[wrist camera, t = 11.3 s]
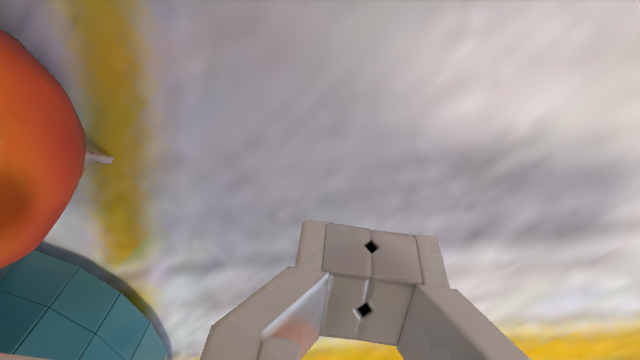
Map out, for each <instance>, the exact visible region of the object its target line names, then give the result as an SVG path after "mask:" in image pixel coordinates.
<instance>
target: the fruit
mask: <svg viewBox="0 0 640 360" xmlns="http://www.w3.org/2000/svg"><path fill="white" fill-rule="evenodd" d="M112 160H114V158H113V157H108V156H104V155H98V154H96V153H92V152H89V151H88V150H87V149H86V134H85V132H84V130H83V127H82V125H81V122H80V120H79V118H78V115H77V113H76V111H75V109H74V107H73V105H72V103H71V101H70V99H69V97H68V95H67V94H66V92H65V91H64V89H63V88H62V87H61V85H60V84H59V82H58V81H57V80H56V79H55V78H54V77H53V76H52V75H51V74H50V73H49V72H48V71H47V70H46V69H45V68H44V67H43V66H42V65H41V64H40V63H39V62H38V61H37V60H36V59H35V58H34V57H33V56H32V55H31V54H30V53H29V52H28V50H27V49H26V48H25V47H24V46H23V45H22V44H21V43H20V42H19V41H18V40H17V39H15V38H14V37H13V36H11V35H10V34H8V33H6V32H5V31H3V30H1V29H0V269H1V268H3V267H5V266H7V265H9V264H11V263H13V262H15V261H17V260H19V259H21V258H22V257H24V256H26V255H27V254H29V253H30V252H31V251H33V250H34V249H35V248H36V247H37V246H38V245H39V244H40V243H41V242H42V241H43V239H44V238H45V237H46V235H47V234H48V232H49V231H50V230H51V228H52V227H53V226H54V224H55V223H56V222H57V220H58V219H59V217H60V216H61V214H62V213H63V211H64V210H65V208H66V206H67V205H68V203H69V201H70V200H71V197H72V195H73V193H74V191H75V189H76V187H77V185H78V182H79V180H80V178H81V177H82V174H83V171H84V170H85V169H86V167H87V166H88V165H90V164H92V163H94V162H96V163H109V164H112V163H111V161H112Z"/></svg>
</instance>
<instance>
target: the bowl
mask: <svg viewBox="0 0 640 360" xmlns="http://www.w3.org/2000/svg"><path fill="white" fill-rule="evenodd" d="M0 353H7V354H15V355H22V356H29V357H37V358H44V359H51V360H168V359H167V351H166V349H165V347H164V345H163V343H162V341H161V339H160V338H159V336H158V334H157V332H156V330H155V329H154V327H153V325H152V323H151V322H150V321H149V320H148V319H147V318H146V317H145V316H144V315H143V314H142V313H141V312H140V311H139V310H138V309H137V308H136V307H135V306H134V305H133V304H132V303H131V302H130V301H129V300H128V299H127V298H126V297H125V296H124V295H123V294H122V293H120V292H119V291H118V290H116V289H115V288H113V287H112V286H110V285H108V284H107V283H105V282H103V281H102V280H100V279H99V278H97V277H95V276H94V275H92V274H90V273H89V272H87V271H85V270H84V269H82V268H79V266H77V265H74V264H72V263H69V262H66V261H63V260H61V259H58V258H55V257H52V256H50V255H47V254H44V253H41V252H39V251H36V250H33V251H31V252H30V253H29V254H27V255H26V256H24V257H22V258H21V259H19V260H17V261H15V262H13V263H11V264H9V265H7V266H5V267H3V268H1V269H0Z"/></svg>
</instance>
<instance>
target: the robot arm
mask: <svg viewBox="0 0 640 360" xmlns="http://www.w3.org/2000/svg"><path fill="white" fill-rule="evenodd" d="M319 336H326V337H335V338H344V339H354V340H361V341H367V342H373V343H379V344H385V345H391V346H397V349H398V351H399V352H400V354H401V356H402V357H403V359H404V360H531V359H530V358H528V357H527V356H526V355H525V354H524V353H523V352H522V351H521V350H520V349H519V348H518V347H517V346H516V345H515V344H514V343H513V342H512V341H511V340H510V339H509V338H507V337H506V336H505V335H504V334H503V333H502V332H501V331H500V330H499V329H498V328H497V327H496V326H495V325H494V324H493V323H492V322H491V321H490V320H489V319H488V318H486V317H485V316H484V315H483V314H482V313H481V312H480V311H479V310H478V309H477V308H476V307H475V306H474V305H473V304H472V303H471V302H470V301H469V300H468V299H467V298H465V297H464V296H463V295H462V294H461V293H460V292H459V291H458V290H457V289H450V285H449V281H448V277H447V272H446V268H445V264H444V260H443V256H442V252H441V247H440V243H439V240H438V238H437V237H433V236H424V235H408V234H401V233H393V232H385V231H378V230H370V229H366V228H360V227H353V226H347V225H341V224H334V223H328V222H327V224H326V223H325V222H321V221H313V220H306V219H304V221H303V224H302V230H301V235H300V241H299V247H298V253H297V258H296V264H295V267H287V268H286V269H285V270H283V271H282V272H281V273H279V274H278V275H277V276H276V277H274V278H273V279H272V280H270V281H269V282H268V283H267V284H265V285H264V286H263V287H261V288H260V289H259V290H257V291H256V292H255V293H254V294H252V295H251V296H250V297H248V298H247V299H246V300H245V301H243V302H242V303H241V304H239V305H238V306H237V307H235V308H234V309H233V310H232V311H230V312H229V313H228V314H226V315H225V316H224V317H223V318H221V319H220V320H219V321H217V322H216V323H215V324H213V325H212V326H211V329H210V332H209V335H208V338H207V340H206V343H205V346H204V349H203V352H202V355H201V357H200V360H301V358H302V357H303V356H304V355H305V354H306V352H307V351H308V350H309V349H310V348H311V346H312V345H313V344H314V343H315V342H316V340H317V339H318V338H319ZM0 360H51V359H44V358H37V357H29V356H22V355H15V354H7V353H0Z"/></svg>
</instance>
